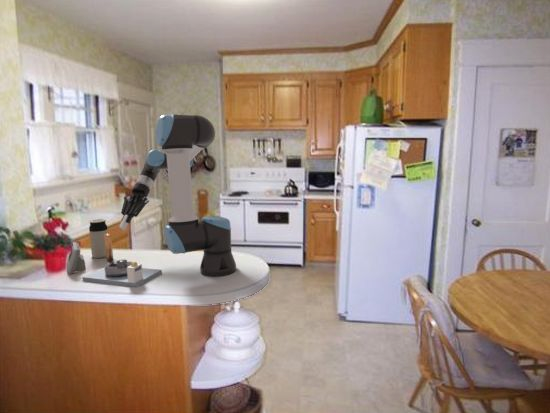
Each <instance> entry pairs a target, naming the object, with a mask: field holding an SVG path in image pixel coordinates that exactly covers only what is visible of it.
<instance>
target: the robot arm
mask: <svg viewBox="0 0 550 413" xmlns="http://www.w3.org/2000/svg"><path fill="white" fill-rule="evenodd" d="M155 126H156V127H155V142H156V145H158V147H161V150H159V149H156V148H155V149H152V150H150V151H149V152H148V154H147V156H146V157H145V163H144V165H143V168H142V169H141V172H140V174H139V176H138V177H137V179H136V182H135V184H134V186H133V188H131V191H132V192H131V193H130V194H129V196H128V197H127V196H124V197H123V200H124V201H123V204H122V208H121V211H120V213H121V215H122V218H121V222H120V224H119V226H118V228H120V229H121V231H126V229H127V227H128V225H129V224H130V223H131V221H132V219H133V218H134V217H135V218H137V217H138V216H139V214H140V213H141V211H142V210H143V209H144V208H145V206H146V205H147V204H148V203H149V202H150V200H149V199H148V195H149V194H150V192H151V190H152V187H153V185H154V183H155V180H156V179H157V177H158V175H159V173H160V171H161V170H167V176H168V187H169V188H168V190H169V199H170V208H171V209H170V210H171V217H169V219H168V220H167V221H168V224H167V225H165V226H164V228H163V232H164V233H163V234H164V239H165V243H166V245H167V248H168V249H169V251H170V252H171V253H172V254H174V255H178V254H186V253H191V252H197V251H202V250H203V255H202V259H201V262H200V266H199V268H200V273H201V274H202V275H203V276H206V277H224V276H228V275H231V274H234V273H235V272H236V271H237V264H236V261H235V258H234V255H233V252H232V227H231V221H230V220H229V219H228V218H226V217H222V216H214V215H213V216H212V215H208V216H207V215H206V216H203V217H202V218H201V220H200V221H199V217H197V215H195V212H194V211H195V210H194V198H193V197H194V196H193V186H192V175H191V174H192V173H191V168H192V166H193V164H194V158H195V157H196V156H197V155H198V154H199V153H200V152H201V151H202V150H203V149H206V148H207V147H209V146H211V144H212V143H213V142H214V140H215V138H216V129H215V127H214V125H213V123H212V122H211V120H209V119H208V118H206V117H205V116H202V115H198V114H191V115H190V114H174V113H173V114H162V115H161V116H159V117H158V119H157V122H156V125H155Z"/></svg>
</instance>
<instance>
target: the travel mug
mask: <svg viewBox="0 0 550 413" xmlns="http://www.w3.org/2000/svg"><path fill="white" fill-rule="evenodd" d="M106 220H107V219H106V218H95V219H90V220H89V221H88V222H89V226H88V228H89V229H88V230H89V239H90V240H89V241H90V250H91V257H92V258H94V259H102V258H103V257H104V258H107V257H106V246H105V236H104V235H105V234H109V231H108V230H109V229H108V225H107V223H106Z"/></svg>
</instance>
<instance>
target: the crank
mask: <svg viewBox="0 0 550 413" xmlns="http://www.w3.org/2000/svg"><path fill="white" fill-rule="evenodd" d="M104 236H105V246H106V257H105V258H106V263H108V264H107V265H106V266H105V267H104V268H105V275H106V276H109V277H121V276H126V275H127V267H129V266H131V263H132V262H133V261H128V260H127V259H118V260H117V259H115V258H114V252H113V251H114V250H113V241H112V233H108V234H105V235H104Z"/></svg>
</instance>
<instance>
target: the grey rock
mask: <svg viewBox="0 0 550 413" xmlns="http://www.w3.org/2000/svg"><path fill="white" fill-rule="evenodd" d="M72 243H73V246H72V245H71V247H72V251H71V253H70V252H69V253H70V254H68V257H67V261H66V272H67V273H68V274H70V275H72V274H75V272H82V271H86V269H87V268H86V263H85V262H86V261H85V257H84V255H83V254H81V248H80V244H79V243H78V242H76V241H74V242H72Z"/></svg>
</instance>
